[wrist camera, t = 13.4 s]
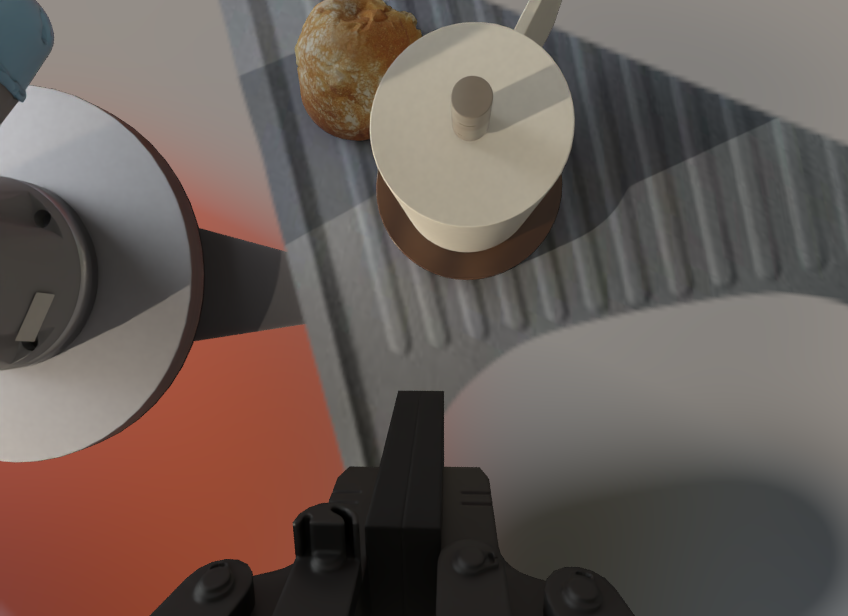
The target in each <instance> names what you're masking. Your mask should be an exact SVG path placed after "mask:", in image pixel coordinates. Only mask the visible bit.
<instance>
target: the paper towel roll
mask: <svg viewBox="0 0 848 616" xmlns="http://www.w3.org/2000/svg"><path fill="white" fill-rule="evenodd" d="M561 2H562V0H529V1H528V3H527V5H526V7H525V9H524V11H523V13H522V15H521V17H520V19H519V21H518V23H517V25H516V27H515V29H514V30H513V29H511V28H508V27H505V26H501V25H497V24H492V23H485V22H467V23H459V24H453V25H450V26H446V27H442V28H440V29H437V30H435V31H432V32H430V33H428V34H426V35H425V36H423V37H421V38H419V39H418V40H416V41H415V42H414V43H412V44H411V45H410V46H408V47H407V48H406V49H405V50H404V51H403V52H402V53H401V54H400V55H399V56H398V57H397V58H396V59H395V61H394V62H393V63H392V64H391V66H390V67H389V68H388V70H387V72H386V73H385V75H384V76H383V78H382V80H381V82H380V84H379V87H378V89H377V91H376V94H375V98H374V101H373V104H372V110H371V116H370V140H371V146H372V151H373V156H374V159H375V161H376V164H377V167H378V169H379V171H380V173H381V175H382V177H383V179H384V181H385V182H386V184H387V185H388V187H389V188H390V190H391V191H392V193H393V194H394V196H395V198H396V199H397V201H398V202H399V204H400V205H401V207H402V208H403V210H404V211H405V213H406V214H407V216H408V217H409V219H410V220H411V222H412V223H413V225H414V226H415V228H416V229H417V230H418V231H419V232H420V233H421V234H422V235H423V236H424V237H425V238H427V239H428V240H429V241H431V242H432V243H434V244H436V245H438V246H440V247H442V248H445V249H448V250H451V251H457V252H478V251H483V250H487V249H489V248H492V247H495V246H497V245H499V244H501V243H502V242H504V241H505V240H507V239H508V238H510V237H511V236H512V235H513V234H514V233H515V232H516V231H517V230H518V229H519V228H520V227H521V225H522V224H523V223H524V222H525V220H526V219H527V218H528V217H529V215H530V214H531V213H532V212H533V210H534V209H535V208H536V207H537V205H538V204H539V203H540V201H541V200H542V199H543V198H544V196H545V195H546V194H547V193H548V191H549V190H550V189H551V188H552V186H553V185H554V184H555V182H556V181H557V179H558V177H559V176H560V174H561V173H562V171H563V169H564V166H565V164H566V162H567V160H568V157H569V154H570V151H571V148H572V142H573V137H574V126H575V117H574V106H573V101H572V97H571V93H570V90H569V87H568V84H567V82H566V80H565V78H564V76H563V74H562V72H561V70H560V68H559V67H558V66H557V64H556V63H555V61H554V60H553V59H552V57H551V56H550V55H549V54H548V53H547V52H546V51H545V50H544V49H543V48H542V47H543V45H544V43H545V41H546V39H547V37H548V35H549V33H550V31H551V29H552V27H553V25H554V23H555V20H556V17H557V14H558V11H559V8H560V5H561ZM467 76H478V77H481V78H483V79H485V80H486V81H487V82H488V83H489V85H490V86H491V88H492V91H493V103H492V110H491V116H490V123H489V128H488V130H487V132H486V134H485V135H484V136H483V137H481V138H480V139H478V140H476V141H465V140H462V139H460V138H459V137H458V136H457V135H456V134H455V133H454V131H453V128H452V117H451V100H450V96H451V91H452V89H453V87H454V85H455V84H456V83H457V82H458V81H459V80H460V79H462V78H464V77H467Z"/></svg>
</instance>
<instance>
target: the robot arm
mask: <svg viewBox="0 0 848 616" xmlns="http://www.w3.org/2000/svg"><path fill="white" fill-rule="evenodd" d="M53 44H54V32H53V28H52V25H51V22H50V20H49V17H48V16H47V14H46V13H45V11H44V10H43V8H42V7H41V6H40V4H39V3H38V2H37V1H36V0H0V125H1V124H2V122H3V121H4V120H5V118H6V117H7V116H8V115H9V113H10V112H11V111H12V109H13V108H14V107H15V106H16V104H17V103H18V102H21V103H23V102H24V100H25V99H26V95H27V94H26V89H27V87H28V85H29V84H30V82H31V81H32V79H33V78H34V76H35V75H36V73H37V72H38V70H39V69H40V67H41V66H42V64H43V63H44V61H45V60H46V58H47V57H48V55H49V54H50V52H51V50H52V47H53ZM97 286H98V265H97V258H96V253H95V249H94V246H93V242H92V239H91V237H90V235H89V233H88V230H87V229H86V227H85V225H84V223H83V222H82V220H81V219H80V217H79V216H78V215H77V213H76V212H75V211H74V210H73V209H72V208H71V207H70V206H69V205H68V204H67V203H66V202H65V201H64V200H63V199H61V198H60V197H59V196H57V195H56V194H54V193H53V192H51V191H49V190H47V189H45V188H43V187H41V186H38V185H36V184H32V183H28V182H25V181H21V180H17V179H13V178H10V177H5V176H0V371H1V370H9V369H15V368H22V367H28V366H32V365H36V364H39V363H41V362H44V361H46V360H48V359H50V358H52V357H54V356H55V355H57V354H59V353H60V352H61V351H63V350H64V349H65V348H66V347H67V346H68V345H69V344H71V343H72V341H73V340H74V339H75V338H76V337H77V336H78V334H79V333H80V332H81V330H82V329H83V327H84V325H85V324H86V322H87V320H88V318H89V316H90V314H91V311H92V308H93V305H94V302H95V298H96V293H97ZM293 532H294V543H295V554H296V559H295V561H294V563H293V564H291V565H289V566H287V567H285V568H283V569H280V570H276V571H273V572H269V573H264V574H260V575H255V576H253V574H252V571H251V569H250V567H249V566H248V564H246V563H244V562H242V561H240V560H233V559H224V560H220V561H215V562H211V563H209V564H207V565H205V566H203V567H201V568H199V569H197V570H196V571H195V572H194V573H192V574H191V575H190V576H189V577H187V578H186V579H185V580H184V581H183V582H182V583H181V584H180V585H179V586H178V587H177V589H175V590H174V591H173V592H172V594H171V595H170V596H169V597H168V598H167V599H166V600H165V601H164V602H163V603H162V604H161V605H160V606H159V607H158V608H157V609H156V610H155V611H154V612H153V613H152V614H151V615H150V616H635V615H634V614H633V613H632V611H631V610H630V608H629V607H628V606H627V604H626V603H625V601H624V600H623V599H622V597H621V596H620V595H619V593H618V592H617V590H616V589H615V588H614V587H613V586H612V585H611V584H610V583H609V582H608V581H607V580H606V579H605V578H604V577H602V576H600V575H599V574H597V573H595V572H593V571H591V570H587V569H584V568H580V567H564V568H561V569H558V570H556V571H554V572H553V573H552V574H551V575H550V576H549V577H548V578H547V580H546V581H544V580H541V579H537V578H534V577H531V576H528V575H526V574H523V573H521V572H519V571H517V570H516V569H514V568H513V567H511V566H510V565H509V564H508V563H507V562H506V561H505V560H504V558H503V557H502V555H501V553H500V550H499V547H498V540H497V533H496V526H495V519H494V512H493V506H492V498H491V490H490V483H489V479H488V477H487V476H486V475H485V473H484V472H483V471H482V470H481V469H480V468H479V467H478V468H477V467H444V391H398V394H397V398H396V402H395V406H394V410H393V414H392V418H391V422H390V426H389V430H388V434H387V439H386V443H385V447H384V451H383V455H382V459H381V463H380V467H349V468H348V469H347V470H345V471H344V472H343V473H342V474H341V475H340V476H339V477H338V479H337V481H336V484H335V486H334V489H333V493H332V494H331V497H330V499H329V503H321V504H318V505H315V506H312V507H309V508H308V509H306V510H305V511H303V512H302V513H300V514H299V515H298V516H297V518H296V519H295V520H294V522H293Z"/></svg>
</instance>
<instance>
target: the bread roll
mask: <svg viewBox="0 0 848 616" xmlns="http://www.w3.org/2000/svg"><path fill="white" fill-rule="evenodd" d="M416 25H417V19H416V18H415V17H414V15H412V13H408V12H406V11H401V12H399V11H396V10H394V9H392V7H391V6H386V4H385V3H384V2H383V1H382V0H324V1H322V2H320V3H319V4H317V5H316V6H315V7H314V8H313V10H312V12H311V13H310V15H309V16H308V18H307V20H306V22H305V24H304V26H303V28H302V33H301V35H300V37H299V39H298V42H297V44H296V47H295V53H296V64H297V65H298V68H297V70H298V76H299V83H300V92H301V98H302V102H303V105H304V107H305V109H306V111H307V113H308V114H309V116H310V117H311V119H312V120H313V121H314V122H315V123H316V124H317V125H318V126H319V127H320V128H322V129H323V130H324V131H326V132H327V133H329V134H331V135H333V136H335V137H339V138H341V139H347V140H356V141H362V140H368V139H370V116H371V110H372V104H373V101H374V98H375V94H376V91H377V89H378V87H379V84H380V82H381V80H382V78H383V76H384V75H385V73H386V72H387V70H388V68H389V67H390V66H391V64H392V63H393V62H394V61H395V59H396V58H397V57H398V56H399V55H400V54H401V53H402V52H403V51H404V50H405V49H406V48H407V47H408V46H410V45H411V44H412V43H414V42H415V41H416V40H418V39H419V38H421V37H423V36H422V34H421V29H420V30H417V29H416Z"/></svg>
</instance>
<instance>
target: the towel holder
mask: <svg viewBox="0 0 848 616" xmlns="http://www.w3.org/2000/svg"><path fill="white" fill-rule="evenodd" d="M450 100H451V117H452V128H453V131H454V133H455V134H456V135H457V136H458V137H459V138H460V139H462V140H465V141H476V140H478V139H480V138H481V137H483V136H484V135H485V134H486V132H487V130H488V128H489V123H490V116H491V110H492V103H493V91H492V88H491V86H490V85H489V83H488V82H487V81H486V80H485V79H483V78H481V77H478V76H467V77H464V78H462V79H460V80H459V81H458V82H457V83H456V84H455V85H454V87H453V89H452V91H451V96H450ZM376 194H377V203H378V208H379V213H380V216H381V219H382V222H383V224H384V226H385V228H386V230H387V232H388V234H389V236H390V237H391V239H392V240H393V242H394V243H395V245H396V246H397V247H398V248H399V249H400V250H401V251H402V252H403V254H405V255H406V256H407V257H408V258H409V259H410V260H412V261H413V262H414V263H416V264H417V265H419V266H420V267H422V268H423V269H425V270H427V271H429V272H432V273H434V274H436V275H440V276H443V277H446V278H451V279H458V280H476V279H483V278H488V277H492V276H495V275H498V274H501V273H503V272H505V271H507V270H509V269H511V268H513V267H515V266H516V265H518V264H519V263H521V262H522V261H524V260H525V259H526V258H527V257H528V256H530V255H531V254H532V253H533V252H534V251H535V250H536V249H537V248H538V247H539V245H540V244H541V243H542V242H543V241H544V239H545V238H546V236H547V235H548V233H549V231H550V229H551V227H552V225H553V223H554V221H555V219H556V216H557V213H558V210H559V206H560V201H561V194H562V175H561V174H560V176H559V177H558V179H557V181H556V182H555V184H554V185H553V186H552V188H551V189H550V190H549V191H548V193H547V194H546V195H545V196H544V198H543V199H542V200H541V201H540V203H539V204H538V205H537V207H536V208H535V209H534V210H533V212H532V213H531V214H530V215H529V217H528V218H527V219H526V220H525V222H524V223H523V224H522V225H521V227H520V228H519V229H518V230H517V231H516V232H515V233H514V234H513V235H512V236H511V237H510V238H508V239H507V240H505V241H504V242H502V243H501V244H499V245H497V246H495V247H492V248H489V249H487V250H483V251H478V252H457V251H451V250H448V249H445V248H442V247H440V246H438V245H436V244H434V243H432V242H431V241H429V240H428V239H427V238H425V237H424V236H423V235H422V234H421V233H420V232H419V231H418V230H417V229H416V228H415V226H414V225H413V223H412V222H411V220H410V219H409V217H408V216H407V214H406V213H405V211H404V210H403V208H402V207H401V205H400V204H399V202H398V201H397V199H396V198H395V196H394V194H393V193H392V191H391V190H390V188H389V187H388V185H387V184H386V182H385V181H384V179H383V177H382V175H381V173H380V171H379V169H378V173H377V183H376Z"/></svg>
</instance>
